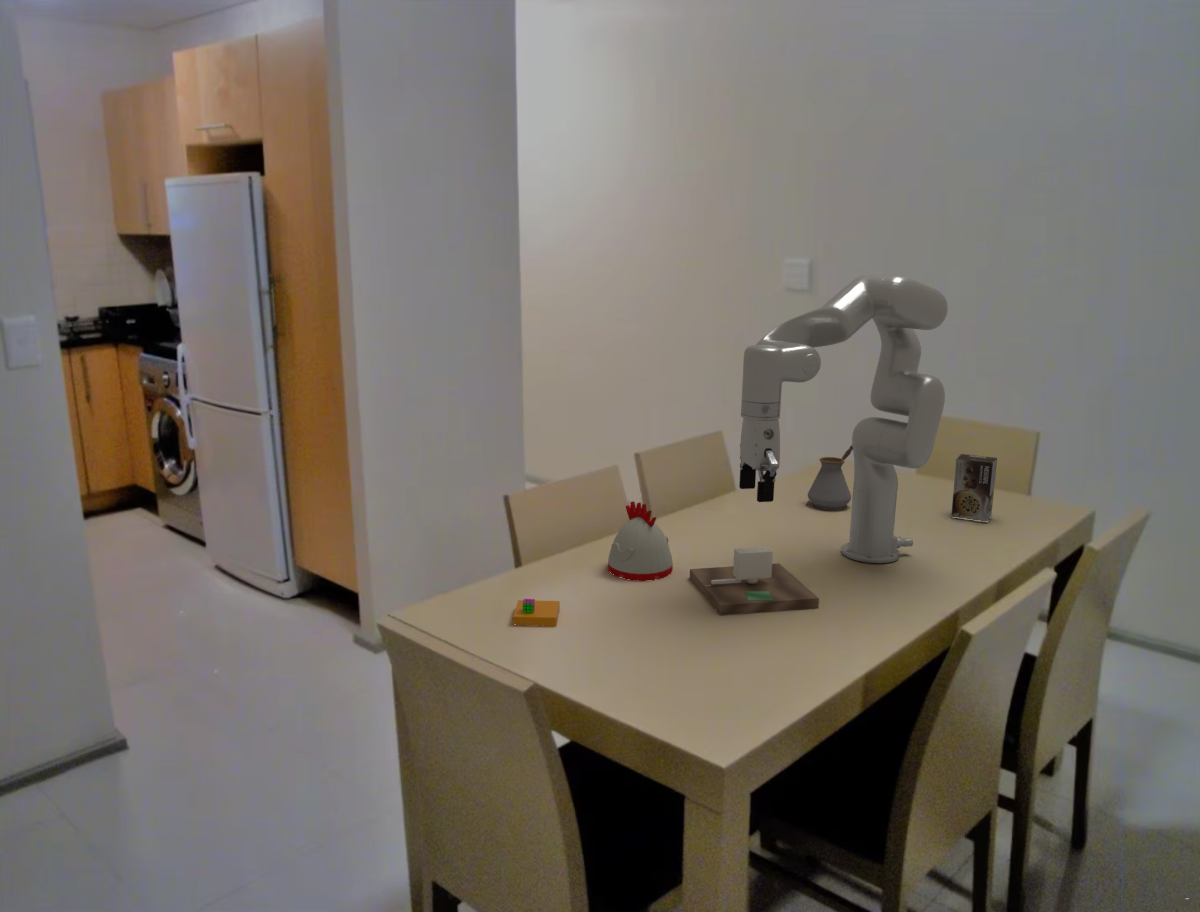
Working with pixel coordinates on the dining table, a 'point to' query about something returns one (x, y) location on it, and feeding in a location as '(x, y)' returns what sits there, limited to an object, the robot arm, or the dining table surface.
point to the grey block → (750, 565)
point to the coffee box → (974, 487)
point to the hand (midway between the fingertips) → (755, 494)
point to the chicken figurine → (640, 548)
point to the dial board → (753, 591)
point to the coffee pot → (830, 484)
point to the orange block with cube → (536, 612)
